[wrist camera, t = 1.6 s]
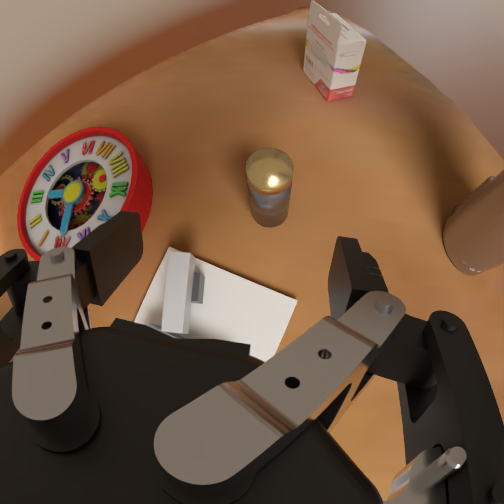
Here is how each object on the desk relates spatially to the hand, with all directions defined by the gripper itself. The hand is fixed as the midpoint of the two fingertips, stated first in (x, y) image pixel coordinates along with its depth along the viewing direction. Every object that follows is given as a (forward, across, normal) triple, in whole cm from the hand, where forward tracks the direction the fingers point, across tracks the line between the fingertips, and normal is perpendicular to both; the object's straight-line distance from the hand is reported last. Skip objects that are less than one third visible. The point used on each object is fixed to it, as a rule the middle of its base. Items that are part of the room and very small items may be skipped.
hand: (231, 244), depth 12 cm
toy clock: (+24, +25, +10) cm, 36 cm away
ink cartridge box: (+42, -6, -9) cm, 43 cm away
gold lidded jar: (+25, 0, +8) cm, 26 cm away
